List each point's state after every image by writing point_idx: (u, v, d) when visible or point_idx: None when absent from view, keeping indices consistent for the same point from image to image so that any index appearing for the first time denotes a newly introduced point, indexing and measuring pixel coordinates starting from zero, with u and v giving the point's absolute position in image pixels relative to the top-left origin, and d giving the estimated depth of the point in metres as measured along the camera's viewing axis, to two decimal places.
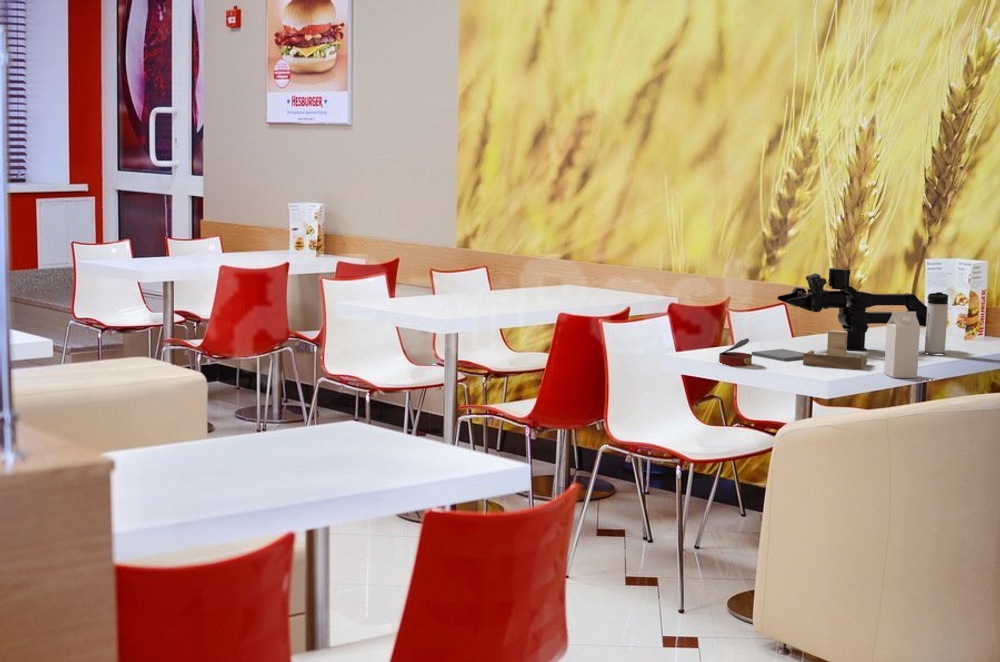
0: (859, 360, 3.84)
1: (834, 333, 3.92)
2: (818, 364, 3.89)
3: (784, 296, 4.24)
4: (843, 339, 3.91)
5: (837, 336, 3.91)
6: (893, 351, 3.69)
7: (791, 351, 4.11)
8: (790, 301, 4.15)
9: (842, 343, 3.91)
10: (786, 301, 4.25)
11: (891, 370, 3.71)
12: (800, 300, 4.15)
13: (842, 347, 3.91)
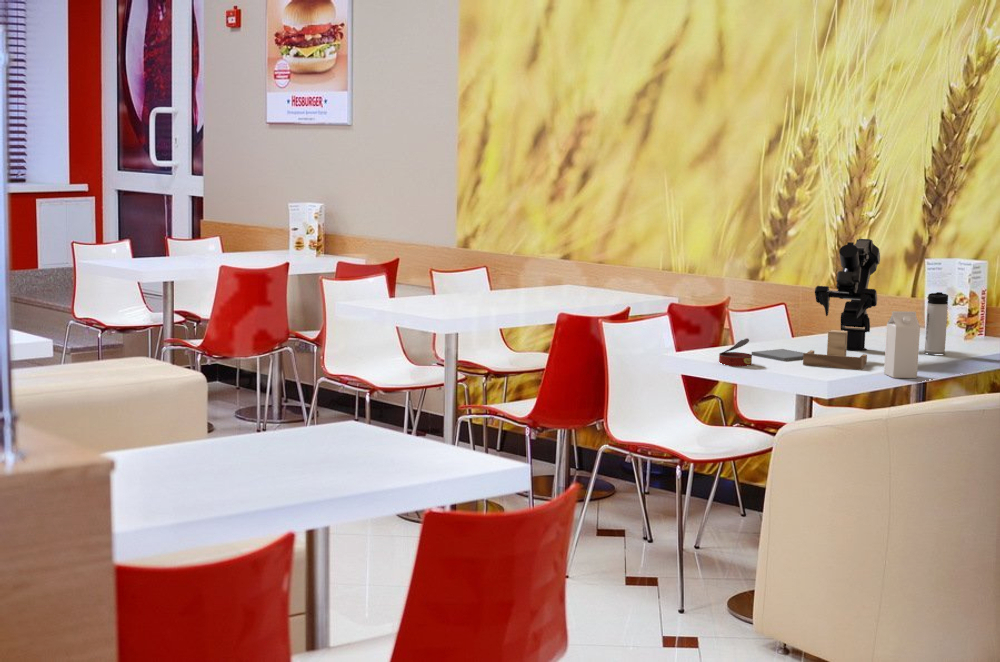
0: (859, 360, 3.84)
1: (834, 333, 3.92)
2: (818, 364, 3.89)
3: (827, 309, 4.03)
4: (843, 339, 3.91)
5: (837, 336, 3.91)
6: (893, 351, 3.69)
7: (791, 351, 4.11)
8: (858, 315, 3.98)
9: (842, 343, 3.91)
10: (828, 310, 4.04)
11: (891, 370, 3.71)
12: (862, 307, 3.99)
13: (842, 347, 3.91)
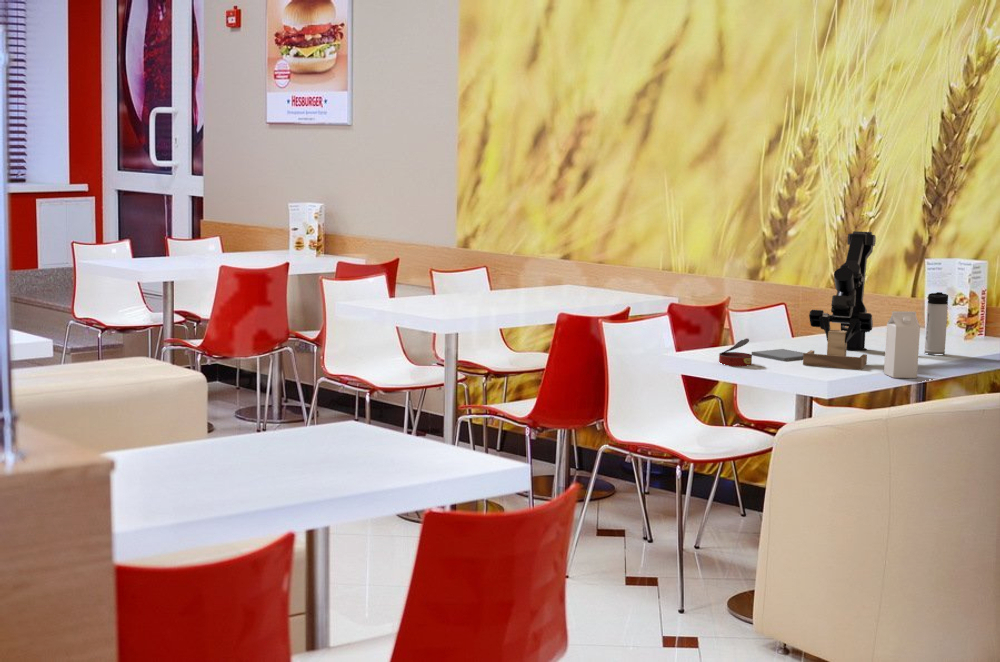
0: (859, 360, 3.84)
1: (834, 333, 3.92)
2: (818, 364, 3.89)
3: None
4: (843, 339, 3.91)
5: (837, 336, 3.91)
6: (893, 351, 3.69)
7: (791, 351, 4.11)
8: (847, 340, 3.92)
9: (842, 343, 3.91)
10: None
11: (891, 370, 3.71)
12: (851, 331, 3.93)
13: (842, 347, 3.91)
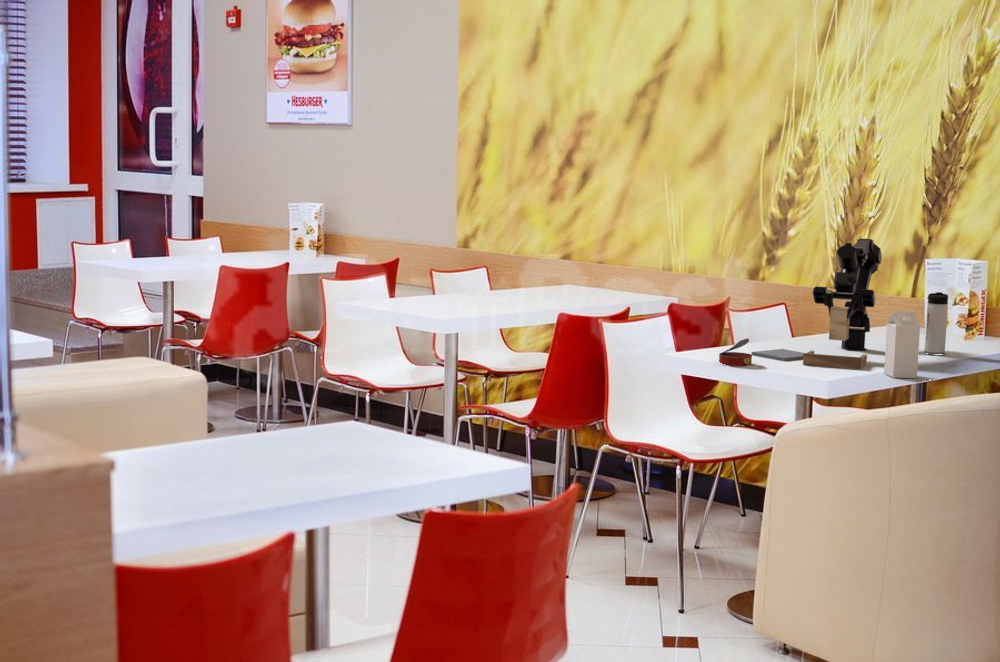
0: (859, 360, 3.84)
1: (836, 309, 3.99)
2: (818, 364, 3.89)
3: None
4: (845, 315, 3.98)
5: (839, 312, 3.99)
6: (893, 351, 3.69)
7: (791, 351, 4.11)
8: (849, 316, 4.00)
9: (844, 319, 3.99)
10: None
11: (891, 370, 3.71)
12: (853, 307, 4.01)
13: (844, 323, 3.99)
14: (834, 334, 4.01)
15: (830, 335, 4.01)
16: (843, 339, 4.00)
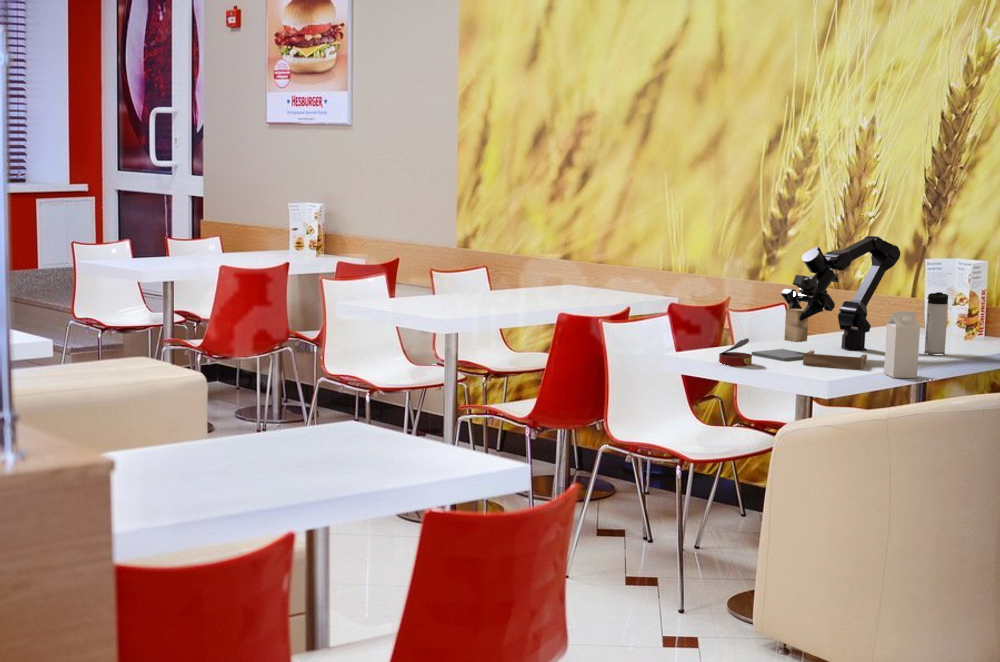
0: (859, 360, 3.84)
1: (790, 311, 4.07)
2: (818, 364, 3.89)
3: None
4: (796, 317, 4.05)
5: (792, 314, 4.07)
6: (893, 351, 3.69)
7: (791, 351, 4.11)
8: (802, 318, 4.06)
9: (795, 321, 4.06)
10: None
11: (891, 370, 3.71)
12: (808, 310, 4.06)
13: (795, 324, 4.06)
14: (788, 335, 4.09)
15: (785, 336, 4.10)
16: (794, 340, 4.07)
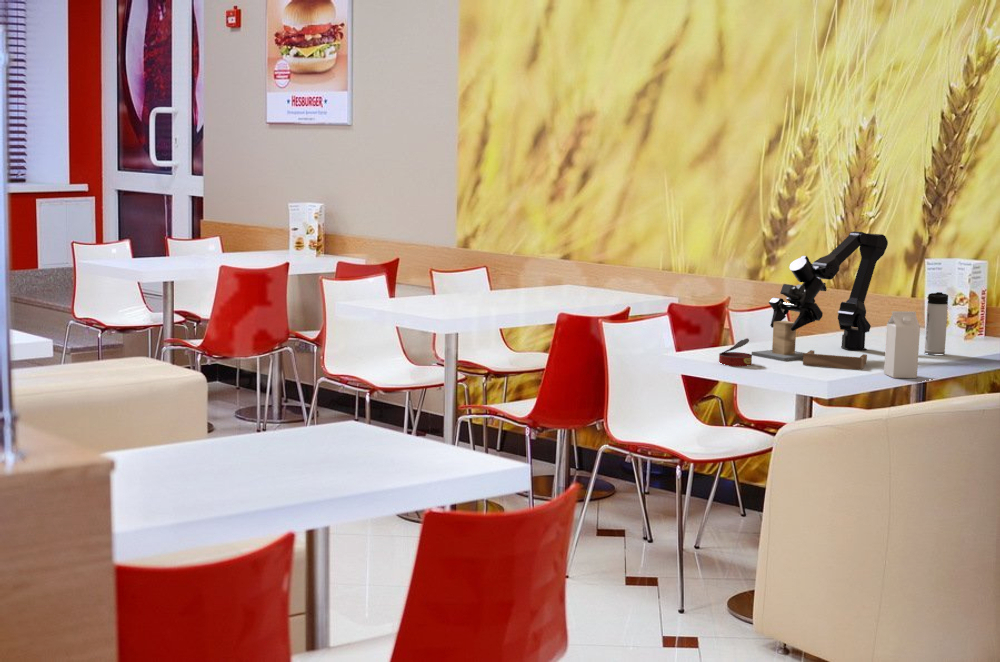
0: (859, 360, 3.84)
1: (778, 323, 4.05)
2: (818, 364, 3.89)
3: (774, 320, 4.09)
4: (784, 329, 4.03)
5: (779, 326, 4.04)
6: (893, 351, 3.69)
7: None
8: (794, 328, 4.02)
9: (783, 333, 4.03)
10: None
11: (891, 370, 3.71)
12: (800, 320, 4.02)
13: (783, 337, 4.03)
14: (775, 348, 4.06)
15: (773, 348, 4.07)
16: (782, 353, 4.04)
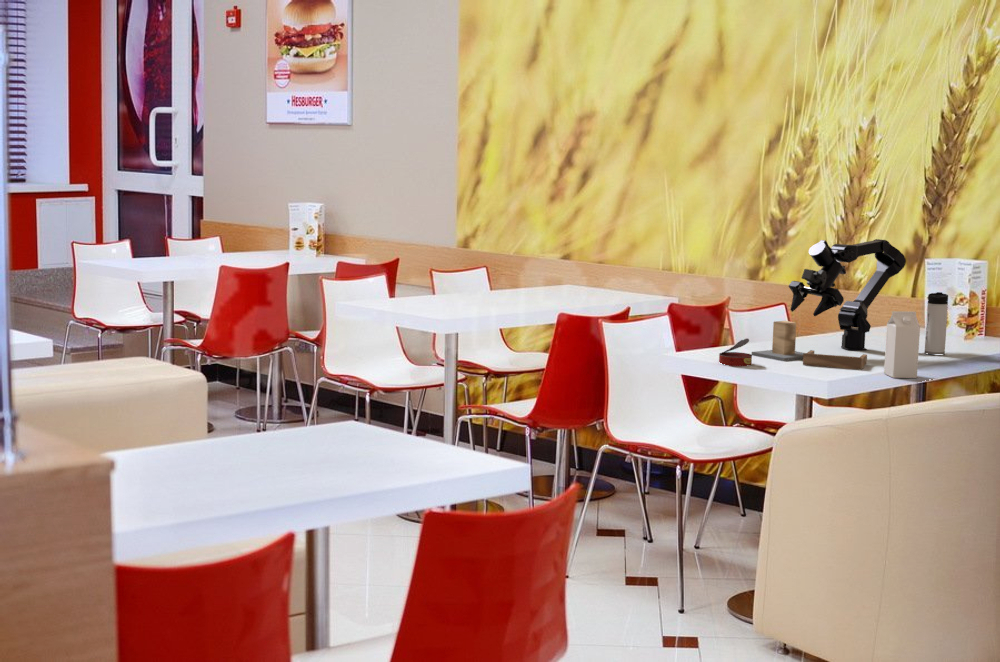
0: (859, 360, 3.84)
1: (778, 323, 4.05)
2: (818, 364, 3.89)
3: (794, 304, 4.14)
4: (784, 329, 4.03)
5: (779, 326, 4.04)
6: (893, 351, 3.69)
7: None
8: (816, 314, 4.06)
9: (783, 333, 4.03)
10: (797, 305, 4.15)
11: (891, 370, 3.71)
12: (822, 306, 4.06)
13: (783, 337, 4.03)
14: (775, 348, 4.06)
15: (773, 348, 4.07)
16: (782, 353, 4.04)
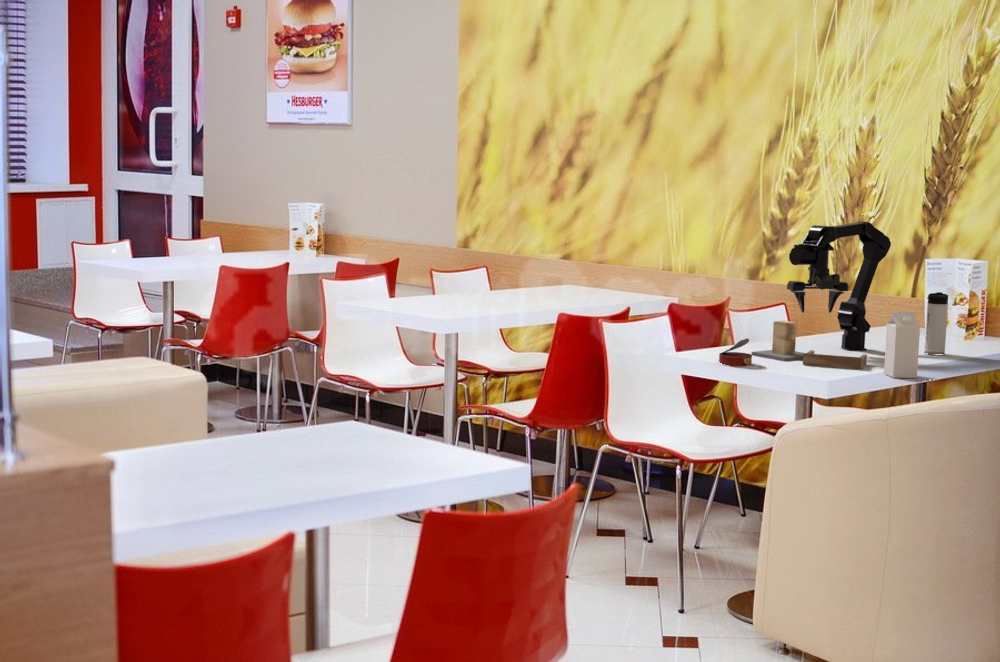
0: (859, 360, 3.84)
1: (778, 323, 4.05)
2: (818, 364, 3.89)
3: None
4: (784, 329, 4.03)
5: (779, 326, 4.04)
6: (893, 351, 3.69)
7: None
8: None
9: (783, 333, 4.03)
10: None
11: (891, 370, 3.71)
12: None
13: (783, 337, 4.03)
14: (775, 348, 4.06)
15: (773, 348, 4.07)
16: (782, 353, 4.04)
